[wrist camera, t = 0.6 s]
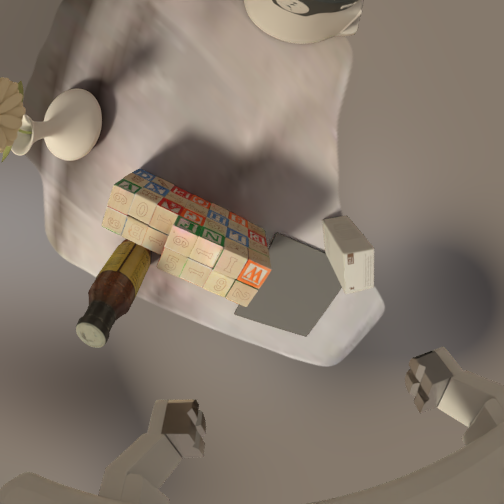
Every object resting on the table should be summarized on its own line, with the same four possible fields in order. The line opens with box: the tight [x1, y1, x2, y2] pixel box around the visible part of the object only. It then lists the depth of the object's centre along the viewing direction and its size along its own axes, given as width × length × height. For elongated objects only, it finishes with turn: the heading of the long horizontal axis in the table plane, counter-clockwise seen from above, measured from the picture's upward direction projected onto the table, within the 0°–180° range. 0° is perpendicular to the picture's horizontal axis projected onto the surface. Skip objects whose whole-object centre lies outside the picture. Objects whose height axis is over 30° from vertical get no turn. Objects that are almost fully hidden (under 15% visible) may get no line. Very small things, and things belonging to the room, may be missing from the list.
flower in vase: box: [0, 77, 102, 162], centre depth 23 cm, size 13×11×25 cm
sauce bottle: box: [76, 239, 151, 347], centre depth 36 cm, size 6×6×20 cm
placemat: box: [234, 233, 342, 336], centre depth 49 cm, size 17×15×1 cm
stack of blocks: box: [102, 169, 272, 307], centre depth 37 cm, size 21×6×12 cm, turn 61°
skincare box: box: [322, 216, 374, 294], centre depth 39 cm, size 6×4×12 cm
